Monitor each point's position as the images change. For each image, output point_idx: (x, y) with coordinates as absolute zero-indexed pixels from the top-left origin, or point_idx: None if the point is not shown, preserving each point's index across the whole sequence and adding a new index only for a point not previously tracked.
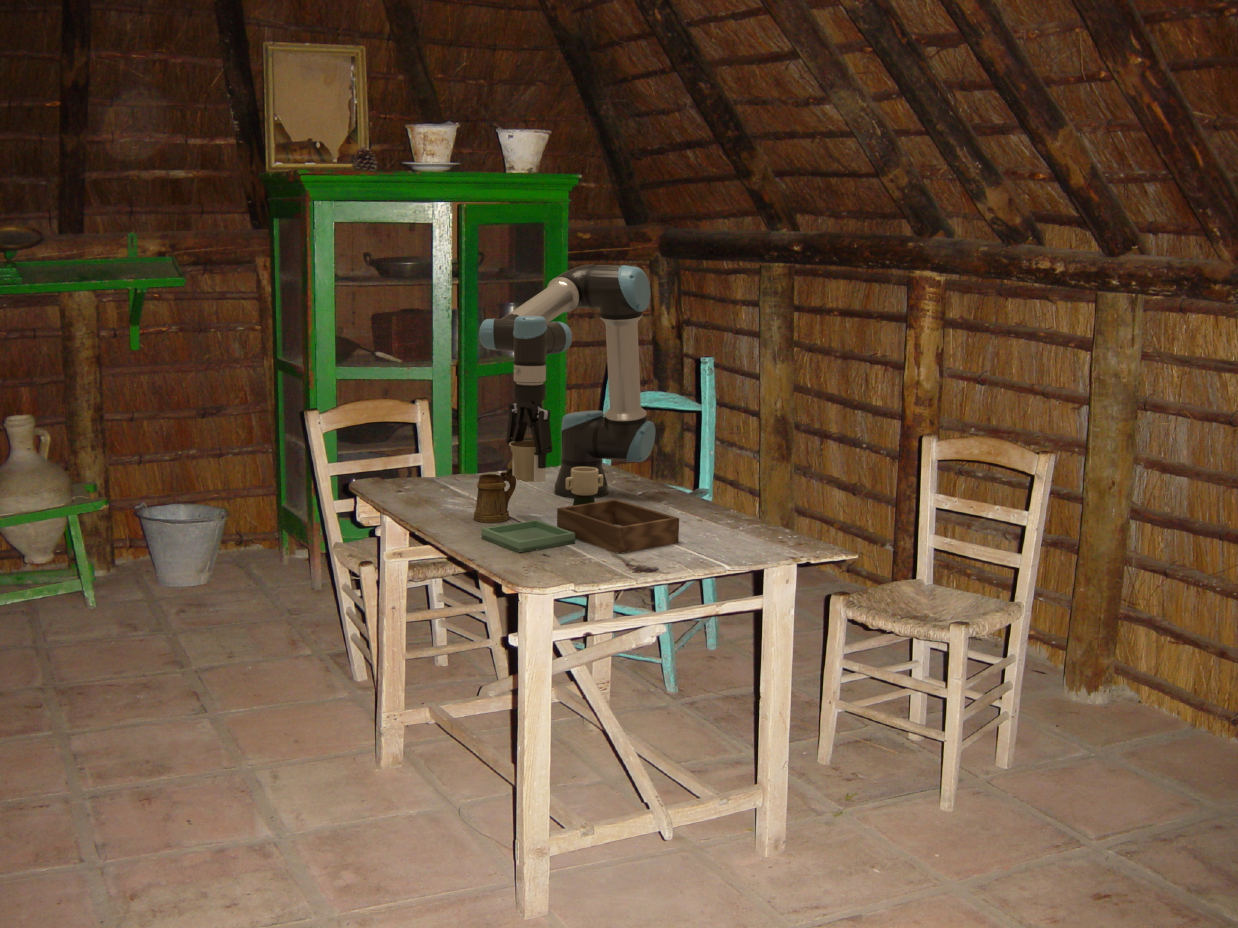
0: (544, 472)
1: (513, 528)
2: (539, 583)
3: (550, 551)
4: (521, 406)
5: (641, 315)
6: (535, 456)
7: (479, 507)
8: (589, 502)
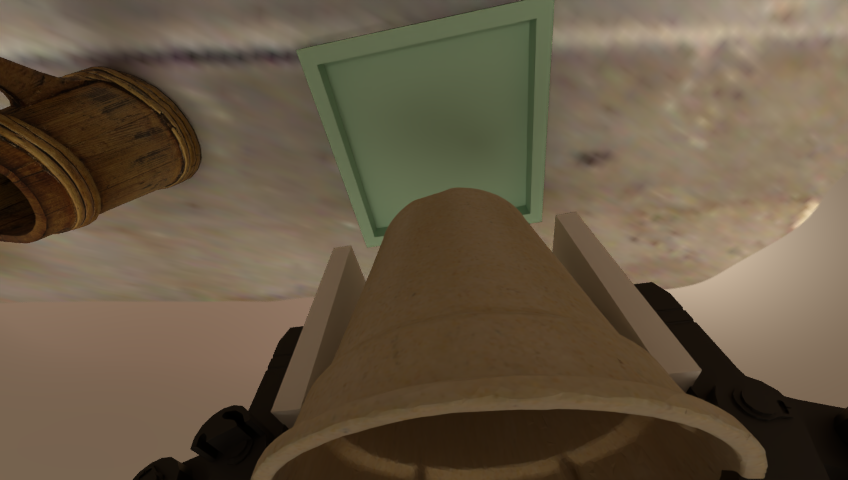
0: (600, 249)
1: (350, 154)
2: (743, 254)
3: (570, 129)
4: None
5: None
6: None
7: (147, 193)
8: None
